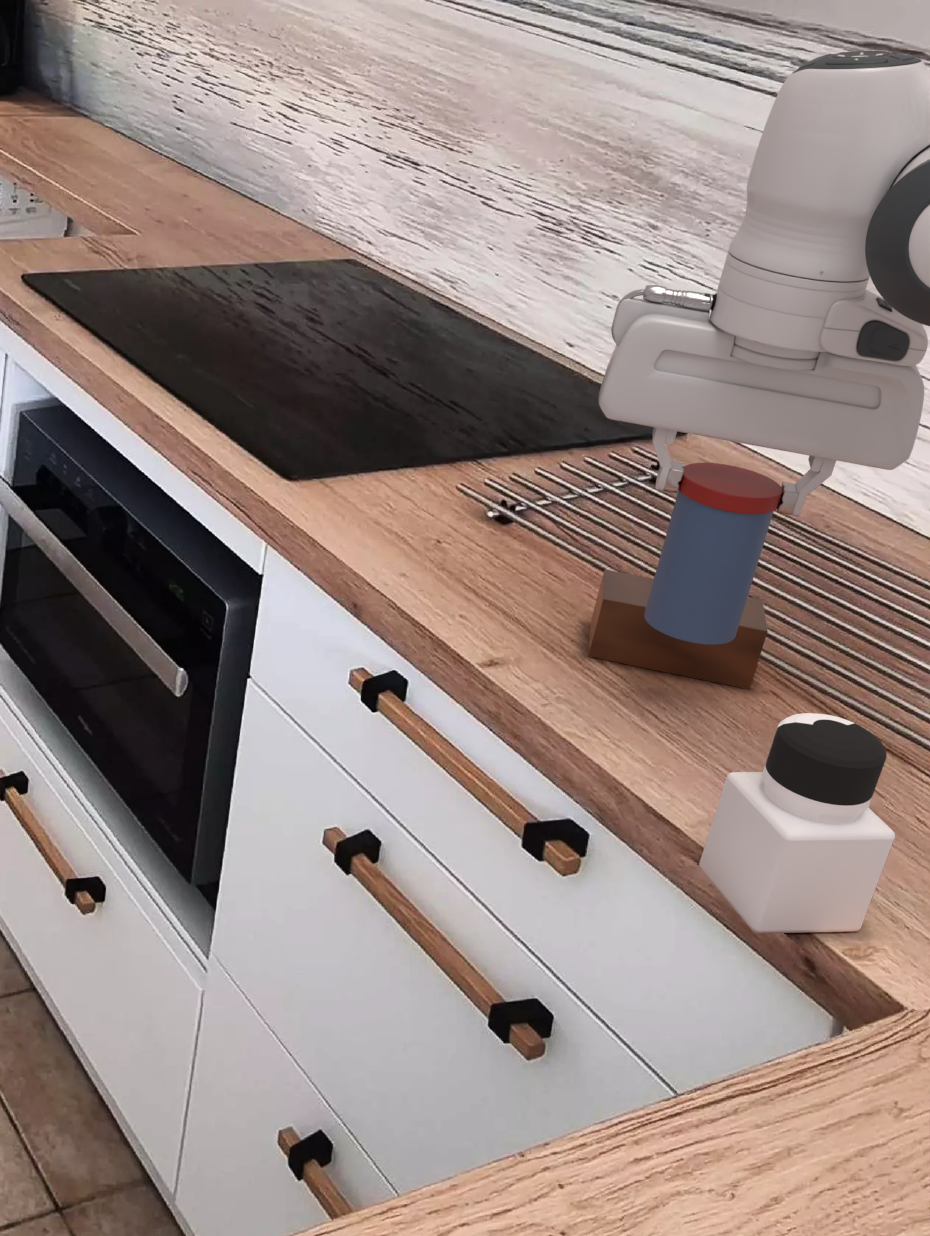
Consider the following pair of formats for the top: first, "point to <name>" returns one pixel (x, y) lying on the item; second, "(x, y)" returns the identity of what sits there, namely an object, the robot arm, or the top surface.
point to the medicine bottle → (802, 830)
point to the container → (711, 552)
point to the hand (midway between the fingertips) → (726, 500)
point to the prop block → (639, 644)
